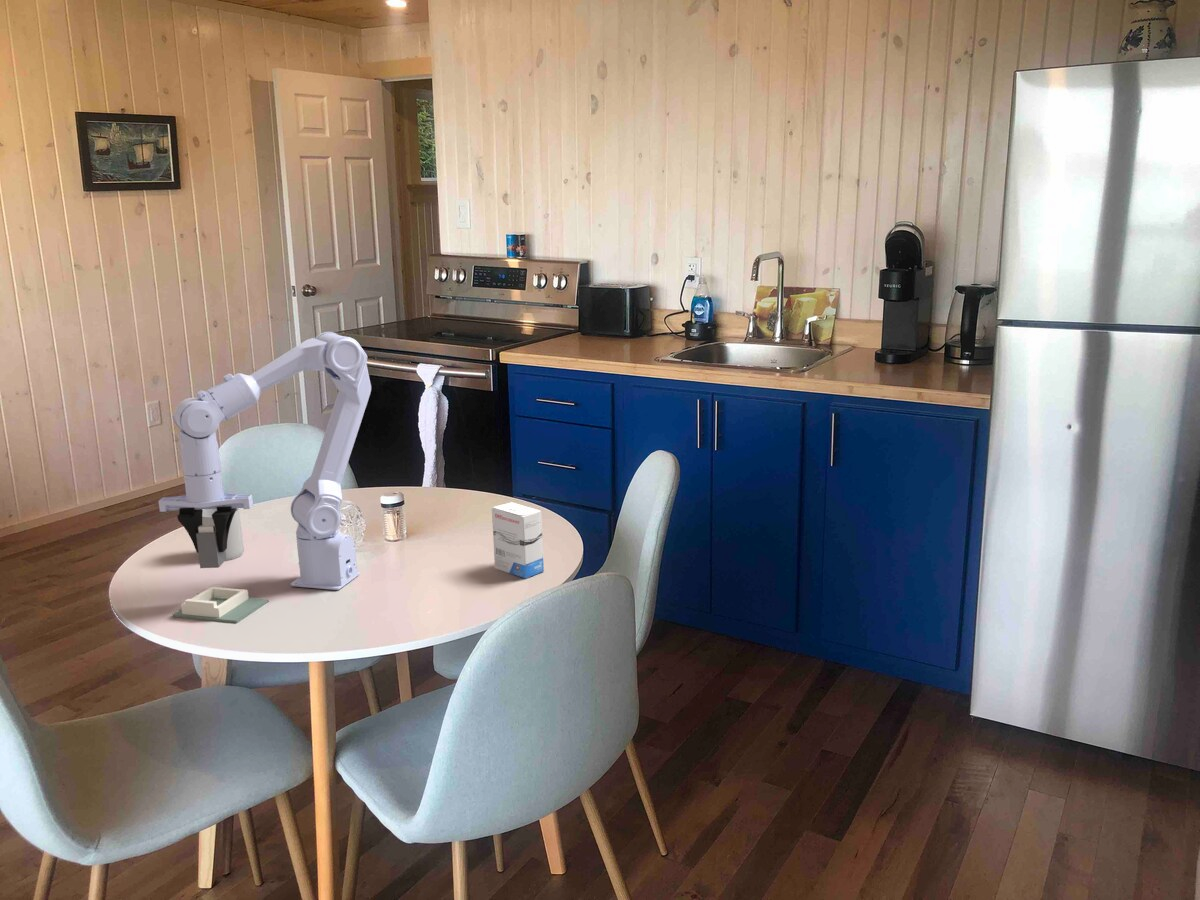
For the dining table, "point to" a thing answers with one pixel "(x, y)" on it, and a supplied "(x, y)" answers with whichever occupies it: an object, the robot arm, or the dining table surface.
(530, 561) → the ink box
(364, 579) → the dining table surface
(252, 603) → the board
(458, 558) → the dining table surface
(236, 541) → the cup
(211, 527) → the plug
